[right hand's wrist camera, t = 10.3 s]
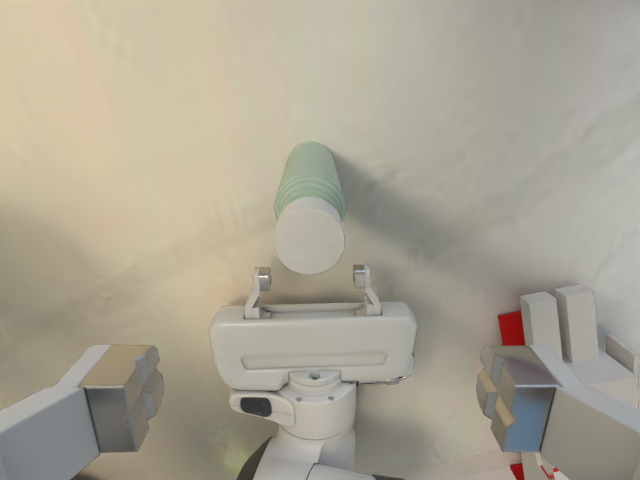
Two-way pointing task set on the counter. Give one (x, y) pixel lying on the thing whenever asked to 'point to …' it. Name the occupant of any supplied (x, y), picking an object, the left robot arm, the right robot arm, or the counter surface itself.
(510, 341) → the toy
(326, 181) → the bottle
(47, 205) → the counter surface
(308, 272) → the cap
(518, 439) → the right robot arm
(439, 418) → the counter surface
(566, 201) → the counter surface
